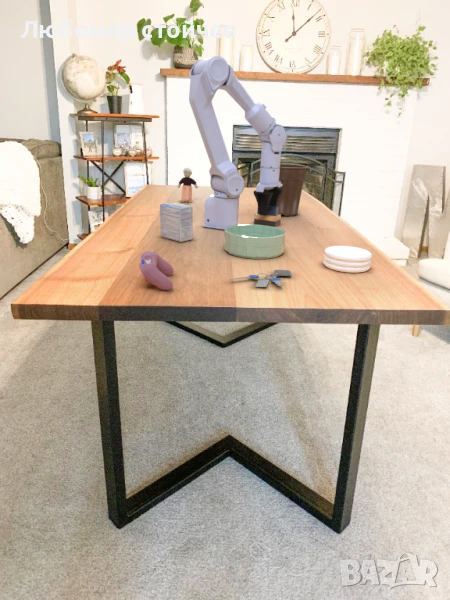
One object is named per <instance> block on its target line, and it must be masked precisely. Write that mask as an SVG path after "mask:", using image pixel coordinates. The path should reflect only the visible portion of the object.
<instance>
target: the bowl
mask: <svg viewBox="0 0 450 600" xmlns="http://www.w3.org/2000/svg"><path fill="white" fill-rule="evenodd" d="M286 235H287V232H286V230H284V229H282V228H280V227H277V226H275V227H274V226H267V225H260V224H254V223H253V224H252V223H251V224H247V223H246V224H242V225H234V226H230V227H227V228H226V229H225V230H224V241H223V242H224V243H223V248H224V250H225V251H226V252H227V253H228V254H229V255H232V256H235V257H237V258H241V259H242V258H243V259H250V260H267V259H274V258H278V257H280V256H281V255H282V254H284V253H285V245H286Z"/></svg>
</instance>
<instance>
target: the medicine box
mask: <svg viewBox="0 0 450 600" xmlns="http://www.w3.org/2000/svg"><path fill="white" fill-rule="evenodd" d="M193 212H194V211H193V206H192V205H187V204H184V203H178V202H165V203H161V204H159V217H160V218H159V219H160V223H159V224H160V237H161V238H165V239H168V240H172V241H175V242H176V241H177V242H179V243H184V242H187V241H192V240H193V239H194V231H193V230H194V227H193V226H194V225H193V221H194V219H193V216H194V215H193Z"/></svg>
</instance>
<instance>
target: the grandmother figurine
mask: <svg viewBox="0 0 450 600" xmlns="http://www.w3.org/2000/svg"><path fill="white" fill-rule="evenodd" d="M182 172H183V176H184V177H182V178H181V179H180V180H179V182H178V184H177V188H178V189H179V188H180V189H181V199H180V200H179V202H180V203H190V204H191V203H192V202H193V201H192V200H193V199H192V198H193V187H192V185H193V186H194V189H198V188H199V186H198V184H197V181H196V180H195V179H194V178H192V177H191V176H192V175H193V171H192V169H190V168H189V167H185V168H184V169H183V171H182Z"/></svg>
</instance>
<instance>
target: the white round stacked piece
mask: <svg viewBox="0 0 450 600" xmlns="http://www.w3.org/2000/svg"><path fill="white" fill-rule="evenodd" d="M323 253H324V255H323V261H322V262H323V265H324V267H326V268H328V269H330V270H332V271H337V272H341V273H349V274H350V273H351V274H352V273H353V274H356V273H357V274H359V273H363V272H367V271H369V270H370V268H371V264H372V258H373V254H372V253H371V252H370V251H369V250H367V249H366V248H365V249H364V248H362V247H357V246H351V245H331V246H328V247H326V248H325V249H324V252H323Z"/></svg>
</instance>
